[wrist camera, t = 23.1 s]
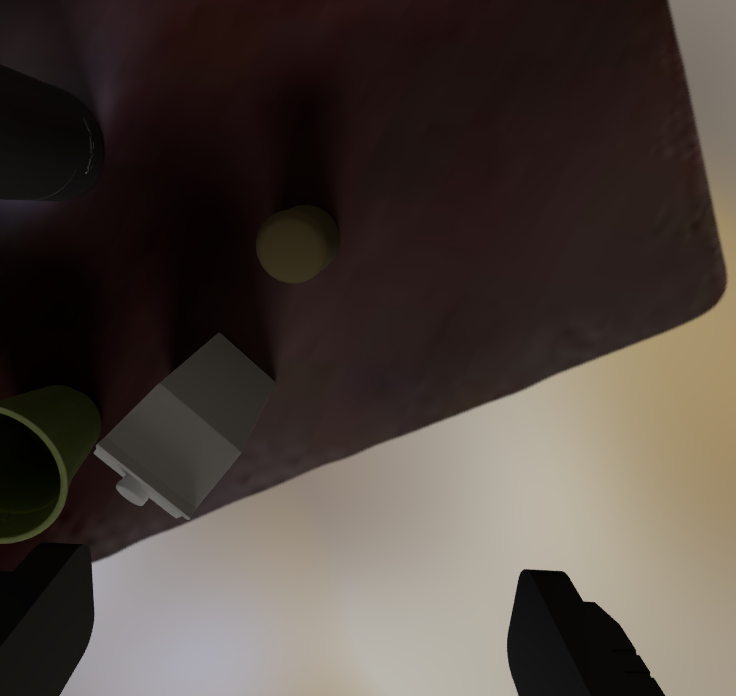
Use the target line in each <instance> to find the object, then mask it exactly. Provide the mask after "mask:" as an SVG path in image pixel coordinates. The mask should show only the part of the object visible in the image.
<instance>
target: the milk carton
mask: <svg viewBox="0 0 736 696" xmlns="http://www.w3.org/2000/svg"><path fill="white" fill-rule="evenodd" d="M274 386H275V382H274V381H273V380H272V379H271V378H270V377H269V376H268V375H267V374H266V373H265V372H264V371H262V370H261V369H260V368H259V367H258V366H257V365H256V364H255V363H253V362H252V361H251V360H250V359H249V358H248V357H247V356H246V355H244V354H243V353H242V352H241V351H240V350H239V349H238V348H237V347H235V346H234V345H233V344H232V343H231V342H230V341H229V340H228V339H227V338H225V337H224V336H223V335H222V334H220V333H218V334H216V335H215V336H214V337H213V338H212V339H210V340H209V341H208V342H207V343H206V344H205V345H203V346H202V347H201V348H200V349H199V350H198V351H196V352H195V353H194V354H193V355H192V356H190V357H189V358H188V359H187V360H186V361H185V362H183V363H182V364H181V365H180V366H179V367H178V368H176V369H175V370H174V371H173V372H172V373H171V374H169V375H168V376H167V377H166V378H165V379H164V380H162V381H161V382H160V383H159V384H158V385H157V386H156V387H155V388H154V389H153V390H152V391H151V392H150V393H149V394H148V395H147V396H146V397H145V398H144V399H143V400H142V401H141V402H140V403H139V404H138V405H137V406H136V407H135V408H134V409H133V410H132V411H131V412H130V413H129V414H128V415H127V416H126V417H125V418H124V419H123V420H122V421H121V422H120V423H119V424H118V425H117V426H116V427H115V428H114V429H113V430H112V431H111V432H110V433H109V434H108V435H107V436H106V437H105V438H103V439H102V440H101V441H100V442H99V443H98V444H97V445H96V448H97V449H96V450H95V452H94V454H95V455H96V456H97V457H99V458H100V459H101V460H102V461H104V462H105V463H106V464H107V465H109V466H110V467H111V468H112V469H114V470H115V471H116V472H118V473H119V474H120V475H121V476H123V477H124V478H123V479H122V480H120V481H119V483H118V484H117V485H116V488H117V490H118V491H119V493H120V494H121V495H123V496H124V497H125V498H126V499H127V500H129V501H130V502H132V503H134V504H136V505H139V506H142V505H144V504H145V502H146V501H147V500H148V498H150V499H152V500H153V501H154V502H155V503H157V504H158V505H159V506H161V507H162V508H163V509H164V510H166V511H167V512H168V513H169V514H171V515H172V516H173V517H175V518H178V517H181V516H183V517H184V518H185V519H187V520H189V519H190V518H191V516H192V515H193V513H194V511H195V509H196V508H197V507H198V506H199V504H200V503H201V502H202V501H203V500H204V498H205V497H206V496H207V495H208V493H209V492H210V491H211V490H212V489H213V487H214V486H215V485H216V484H217V482H218V481H219V480H220V479H221V478H222V476H223V475H224V474H225V473H226V471H227V470H228V469H229V468H230V467H231V465H232V464H233V463H234V462H235V460H236V459H237V458H238V457H239V455H240V454H241V452H242V450H243V448H244V446H245V444H246V442H247V440H248V438H249V436H250V434H251V432H252V430H253V428H254V426H255V424H256V422H257V420H258V418H259V416H260V414H261V412H262V410H263V408H264V406H265V404H266V402H267V400H268V398H269V396H270V394H271V392H272V390H273V388H274Z"/></svg>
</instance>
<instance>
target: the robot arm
mask: <svg viewBox="0 0 736 696" xmlns="http://www.w3.org/2000/svg"><path fill="white" fill-rule="evenodd" d="M103 154H104V148H103V140H102V136H101V133H100V130H99V127H98V124H97V123H96V121H95V119H94V117H93V115H92V114H91V113H90V111H89V110H88V109H87V108H86V107H85V105H84V104H83V103H82V102H80V101H79V100H78V99H77V98H76V97H74V96H73V95H71V94H70V93H68V92H66V91H64V90H62V89H60V88H57V87H55V86H52V85H50V84H47V83H45V82H42V81H40V80H37V79H35V78H33V77H30V76H28V75H25V74H23V73H20V72H18V71H15V70H13V69H10V68H8V67H5V66H3V65H0V199H5V200H32V201H63V200H69V199H72V198H75V197H77V196H79V195H81V194H82V193H84V192H85V191H87V190H88V189H89V188H90V187H91V185H92V184H93V183H94V182H95V180H96V179H97V177H98V175H99V173H100V170H101V167H102V163H103ZM93 624H94V600H93V583H92V564H91V552H90V549H89V547H88V546H87V545H83V544H64V543H46V542H44V543H40V544H38V545H37V546H36V547H35V548H34V549H33V550H32V551H31V552H30V553H29V554H28V556H27V557H26V558H25V559H24V560H23V561H22V562H21V563H20V564H19V565H18V567H17V568H16V569H15V570H14V571H13V572H9V571H1V572H0V696H59V695H60V694H61V692H62V690H63V689H64V687H65V685H66V683H67V682H68V680H69V678H70V677H71V675H72V673H73V672H74V670H75V668H76V666H77V665H78V663H79V661H80V659H81V658H82V656H83V654H84V652H85V650H86V648H87V646H88V643H89V640H90V637H91V633H92V629H93ZM507 652H508V662H509V667H510V671H511V675H512V678H513V680H514V683H515V686H516V689H517V692H518V695H519V696H665V695H664V693H663V691H662V690H661V688H660V687H659V685H658V684H657V682H656V681H655V679H654V678H651V676H650V671H649V670H648V668H647V667H646V665H645V663H644V662H643V660H642V659H641V657H640V656H639V655H637V654H636V650H635V648H634V646H633V645H632V643H631V642H630V640H629V639H628V637H627V636H626V634H625V632H624V631H623V629H622V628H621V626H620V625H619V624H618V623H617V622H616V621H615V620H614V619H613V618H612V617H611V616H610V615H608V614H607V613H606V612H605V611H604V610H603V609H602V608H601V607H599V606H598V605H597V604H596V603H595V602H583V600H582V599H581V597H580V595H579V594H578V592H577V590H576V588H575V587H574V585H573V583H572V582H571V580H570V578H569V577H568V575H566V573H565V572H562V571H547V570H527V569H526V570H525V569H524V570H523V571H522V572H521V574H520V576H519V580H518V585H517V590H516V595H515V600H514V605H513V611H512V616H511V621H510V626H509V631H508V638H507Z"/></svg>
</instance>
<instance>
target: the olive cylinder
mask: <svg viewBox="0 0 736 696" xmlns="http://www.w3.org/2000/svg"><path fill="white" fill-rule="evenodd" d="M339 245H340V237H339V231H338V228H337V226H336V223H335V221H334V220H333V219H332V218H331V216H330V215H329V214H328V213H326V212H325V211H323V210H322V209H320V208H318V207H315V206H311V205H297V206H295V207H292V208H290V209H288V210H283V211H280V212H278V213H275V214H273V215H272V216H270V217H269V218H268V219H267V220H266V221H265V222H264V223H263V224H262V226H261V228H260V230H259V231H258V235H257V240H256V251H257V256H258V259H259V261H260V263H261V265H262V267H263V268H264V269H265V270H266V271H267V273H268V274H269V275H271V276H272V277H274V278H276V279H277V280H279V281H283V282H286V283H302V282H304V281H307V280H310V279H312V278H313V277H314V276H315V275H317V274H318V273H319V272H320V271H321V270H324V269H325V268H326V267H327V266H328V265H330V264H331V263H332V262H333V260H334V258H335V257H336V255H337V253H338V249H339Z"/></svg>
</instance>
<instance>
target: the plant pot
mask: <svg viewBox="0 0 736 696" xmlns="http://www.w3.org/2000/svg"><path fill="white" fill-rule="evenodd" d="M100 431H101V417H100V414H99V411H98V409H97V407H96V405H95V404H94V403H93V401H92V400H91V399H90V398H89V397H88V396H87V395H85V394H84V393H81V392H79V391H77V390H75V389H72V388H70V387H68V386H63V385H53V386H47V387H44V388H41V389H37V390H34V391H30V392H27V393H24V394H20V395H17V396H14V397H10V398H7V399H4V400H0V544H1V543H14V542H18V541H23V540H26V539H29V538H31V537H33V536H35V535H37V534H39V533H40V532H42V531H44V530H45V529H46V528H48V527H49V526H50V525H51V524H52V523H53V522H54V521H55V520H56V518H57V517H58V516H59V514H60V512H61V511H62V509H63V507H64V504H65V501H66V498H67V493H68V488H69V486H70V483H71V480H72V478H73V476H74V475H75V473H76V472H77V470H78V469H79V467H80V466H81V464H82V463H83V461H84V460H85V458H86V457H87V455H88V454H89V452H90V451H91V449H92V447H93V446H94V444H95V443H96V441H97V439H98V437H99V434H100Z"/></svg>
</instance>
